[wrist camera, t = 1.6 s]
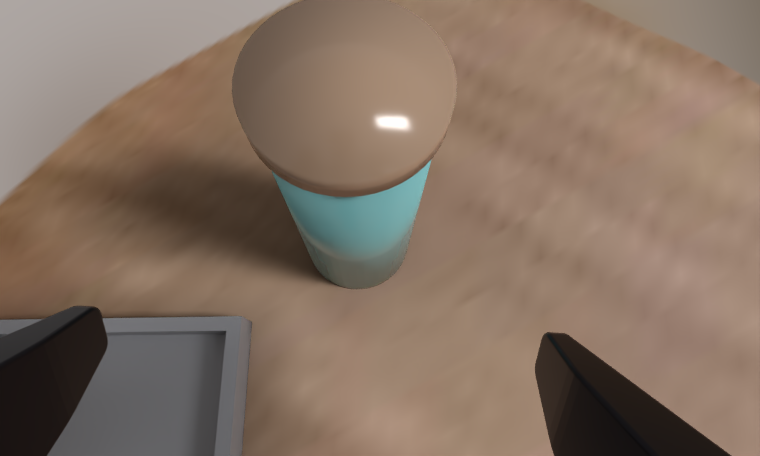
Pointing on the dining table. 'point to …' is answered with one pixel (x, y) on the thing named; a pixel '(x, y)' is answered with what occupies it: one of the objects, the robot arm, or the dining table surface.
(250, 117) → the teal jar
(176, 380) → the charcoal tray
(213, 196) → the dining table surface
